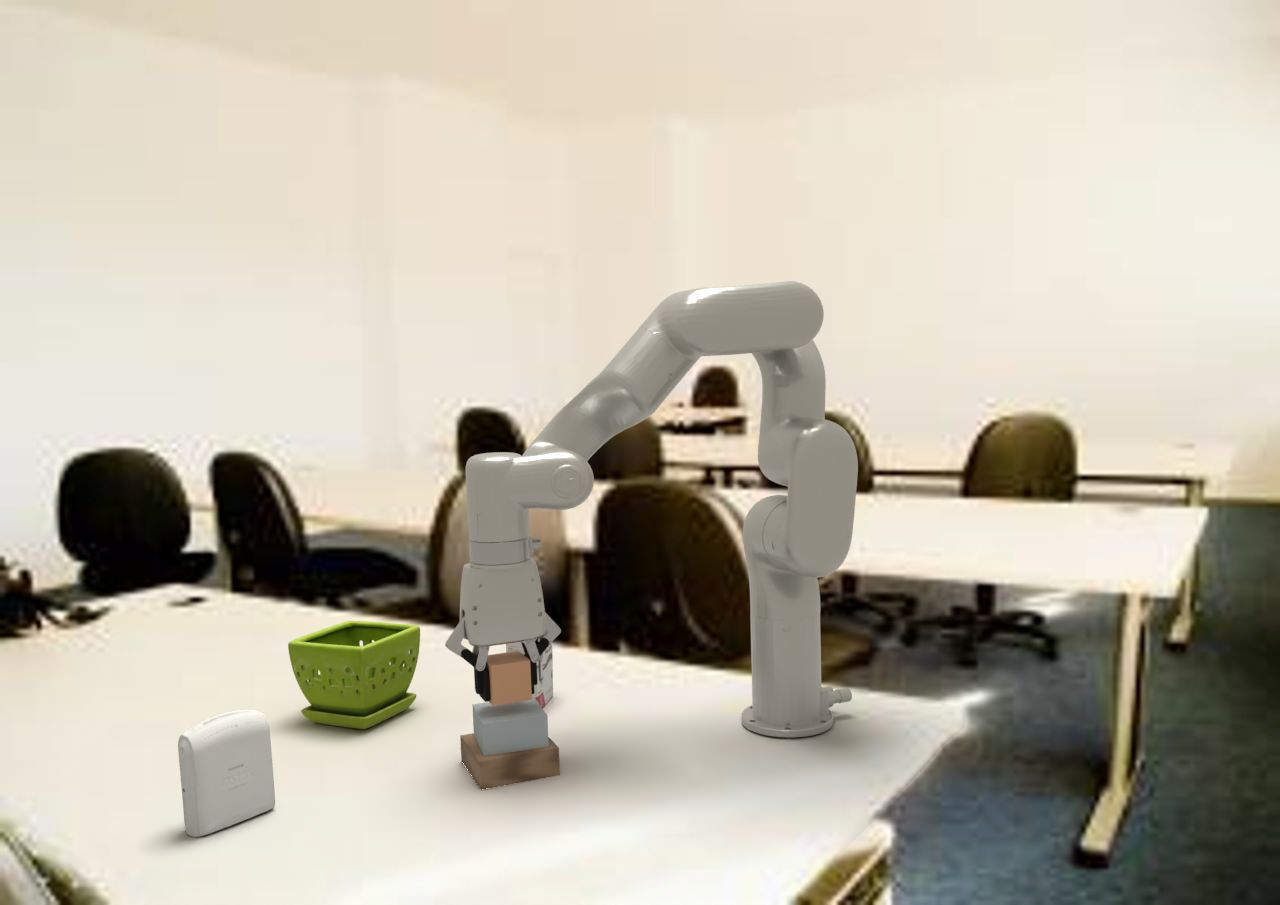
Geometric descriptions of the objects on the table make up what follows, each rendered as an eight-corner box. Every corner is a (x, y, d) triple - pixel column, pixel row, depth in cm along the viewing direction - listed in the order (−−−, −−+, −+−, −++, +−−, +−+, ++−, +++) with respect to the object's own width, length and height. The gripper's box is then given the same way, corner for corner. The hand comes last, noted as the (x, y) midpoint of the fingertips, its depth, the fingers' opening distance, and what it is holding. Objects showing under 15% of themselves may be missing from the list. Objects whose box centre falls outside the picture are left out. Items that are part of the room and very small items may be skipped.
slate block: (534, 726, 139) (533, 696, 139) (548, 746, 132) (547, 715, 131) (473, 734, 137) (472, 704, 136) (484, 756, 129) (482, 724, 129)
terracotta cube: (520, 688, 137) (518, 650, 137) (531, 699, 133) (530, 660, 132) (482, 694, 135) (480, 656, 135) (492, 706, 131) (491, 666, 130)
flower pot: (428, 707, 159) (423, 624, 158) (367, 739, 146) (362, 649, 145) (353, 697, 165) (348, 617, 164) (289, 727, 152) (283, 640, 151)
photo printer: (197, 841, 116) (189, 732, 115) (178, 831, 119) (170, 724, 118) (281, 809, 124) (275, 706, 123) (262, 800, 127) (255, 699, 126)
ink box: (539, 715, 154) (536, 634, 153) (506, 713, 155) (502, 633, 154) (556, 696, 162) (552, 619, 161) (524, 694, 163) (521, 618, 162)
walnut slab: (536, 752, 141) (534, 722, 140) (560, 778, 132) (558, 747, 131) (461, 765, 137) (460, 735, 137) (480, 794, 128) (479, 761, 127)
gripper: (555, 540, 139) (560, 676, 141) (425, 554, 132) (433, 697, 134) (575, 549, 132) (580, 692, 134) (439, 564, 125) (446, 715, 127)
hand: (506, 693), depth 134 cm, fingers closed on terracotta cube, 5 cm apart
